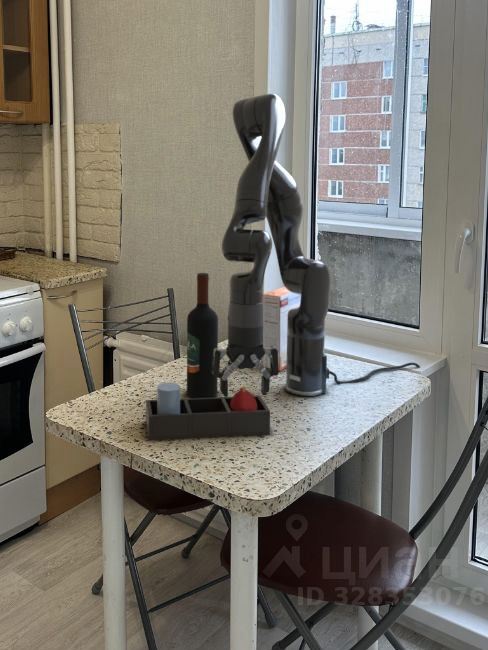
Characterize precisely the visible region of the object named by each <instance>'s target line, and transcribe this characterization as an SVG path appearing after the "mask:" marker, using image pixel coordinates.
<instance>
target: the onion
mask: <svg viewBox="0 0 488 650" xmlns="http://www.w3.org/2000/svg"><path fill="white" fill-rule="evenodd" d="M254 396H255V395H254V394H252V393H251V392H250V391H248V390H247V389H246V388H245V387H244V386H241V387H240V389H239V390H238V391H237V392H235V393H234V395H232V397H233V398H232V400H231V403H230V408H231V412H232V411H255V410H257V402H256V400H255V398H254Z"/></svg>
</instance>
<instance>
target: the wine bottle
mask: <svg viewBox="0 0 488 650" xmlns="http://www.w3.org/2000/svg"><path fill="white" fill-rule="evenodd" d="M209 274H210V273H207V272H197V274H196V275H197V276H196V285H197V286H196V307H194V308H193V309H192V310H190V311H189V313H188V314H187V317H186V318H187V319H186V396H187V398H211V397H218V378H215V377H214V376H213V374H212V361H213V349H214V348H215V347H217V348H218V349H219V318H218V317H219V316H218V314H217V312H215V311H214V309H212V308H211V307H210V305H209V281H210V276H209Z"/></svg>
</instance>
